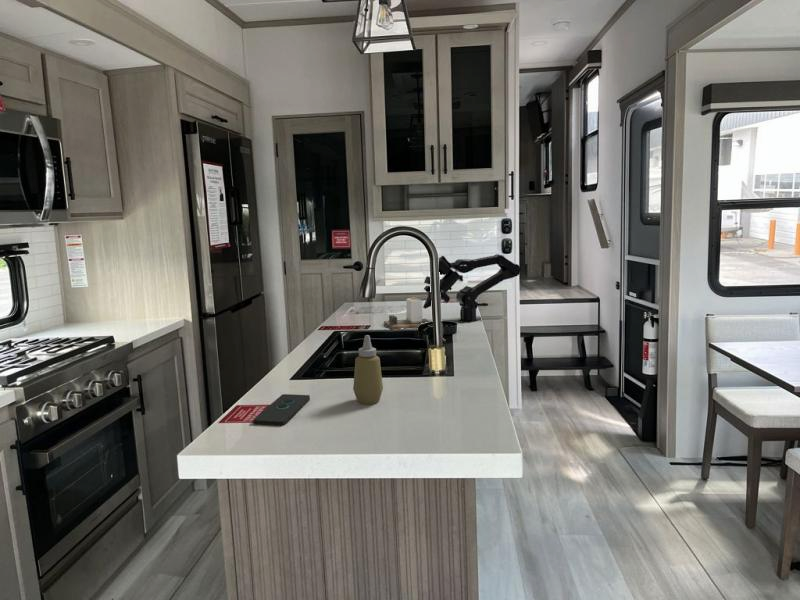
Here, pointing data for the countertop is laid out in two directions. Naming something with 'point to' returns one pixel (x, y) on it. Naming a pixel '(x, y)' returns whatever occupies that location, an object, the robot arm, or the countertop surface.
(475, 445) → the countertop surface
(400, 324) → the rail board
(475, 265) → the robot arm
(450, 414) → the countertop surface
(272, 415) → the smart home device
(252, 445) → the countertop surface
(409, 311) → the block
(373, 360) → the squeeze bottle
